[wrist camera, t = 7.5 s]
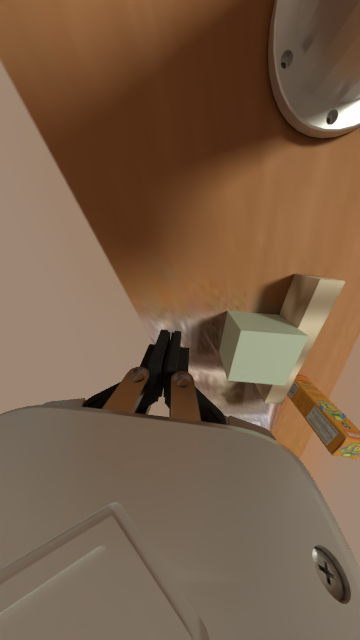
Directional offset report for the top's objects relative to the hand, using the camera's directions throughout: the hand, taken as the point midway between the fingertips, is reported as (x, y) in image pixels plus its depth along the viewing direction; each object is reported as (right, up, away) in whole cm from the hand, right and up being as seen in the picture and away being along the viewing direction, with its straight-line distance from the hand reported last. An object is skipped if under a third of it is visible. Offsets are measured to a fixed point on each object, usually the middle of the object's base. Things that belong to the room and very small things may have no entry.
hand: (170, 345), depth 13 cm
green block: (+11, 0, +10) cm, 15 cm away
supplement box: (+20, -8, +13) cm, 25 cm away
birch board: (+15, 0, +10) cm, 18 cm away
